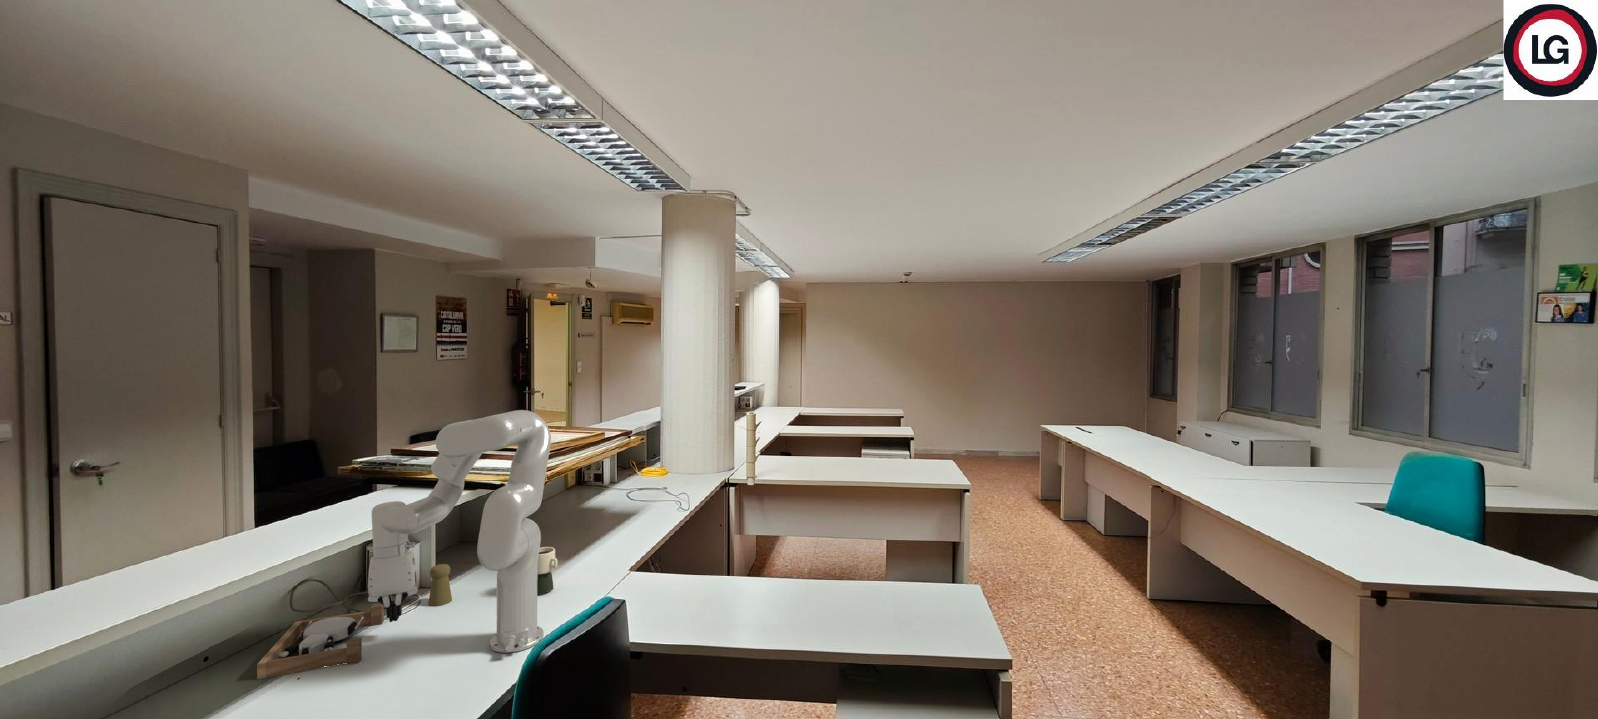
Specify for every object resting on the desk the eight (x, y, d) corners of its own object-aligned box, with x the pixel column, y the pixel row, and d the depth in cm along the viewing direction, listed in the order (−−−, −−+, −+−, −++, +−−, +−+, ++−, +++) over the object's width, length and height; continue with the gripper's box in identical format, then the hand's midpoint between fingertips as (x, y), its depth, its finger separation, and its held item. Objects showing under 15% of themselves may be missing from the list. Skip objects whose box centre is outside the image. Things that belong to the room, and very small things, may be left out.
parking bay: (358, 662, 137) (358, 642, 137) (255, 680, 129) (255, 659, 129) (383, 620, 158) (383, 602, 158) (296, 633, 151) (296, 614, 151)
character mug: (564, 589, 180) (565, 548, 179) (548, 599, 173) (548, 556, 173) (537, 584, 183) (537, 544, 183) (520, 593, 176) (520, 552, 176)
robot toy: (333, 663, 139) (365, 628, 153) (332, 645, 138) (365, 612, 153) (274, 668, 136) (313, 633, 151) (273, 650, 136) (312, 617, 150)
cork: (426, 601, 171) (426, 564, 170) (450, 595, 174) (450, 560, 174) (429, 608, 166) (429, 570, 166) (453, 602, 170) (453, 566, 170)
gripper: (427, 541, 155) (430, 607, 156) (360, 550, 149) (363, 619, 150) (422, 549, 149) (425, 618, 149) (351, 559, 142) (355, 632, 143)
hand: (394, 619), depth 149 cm, fingers closed
